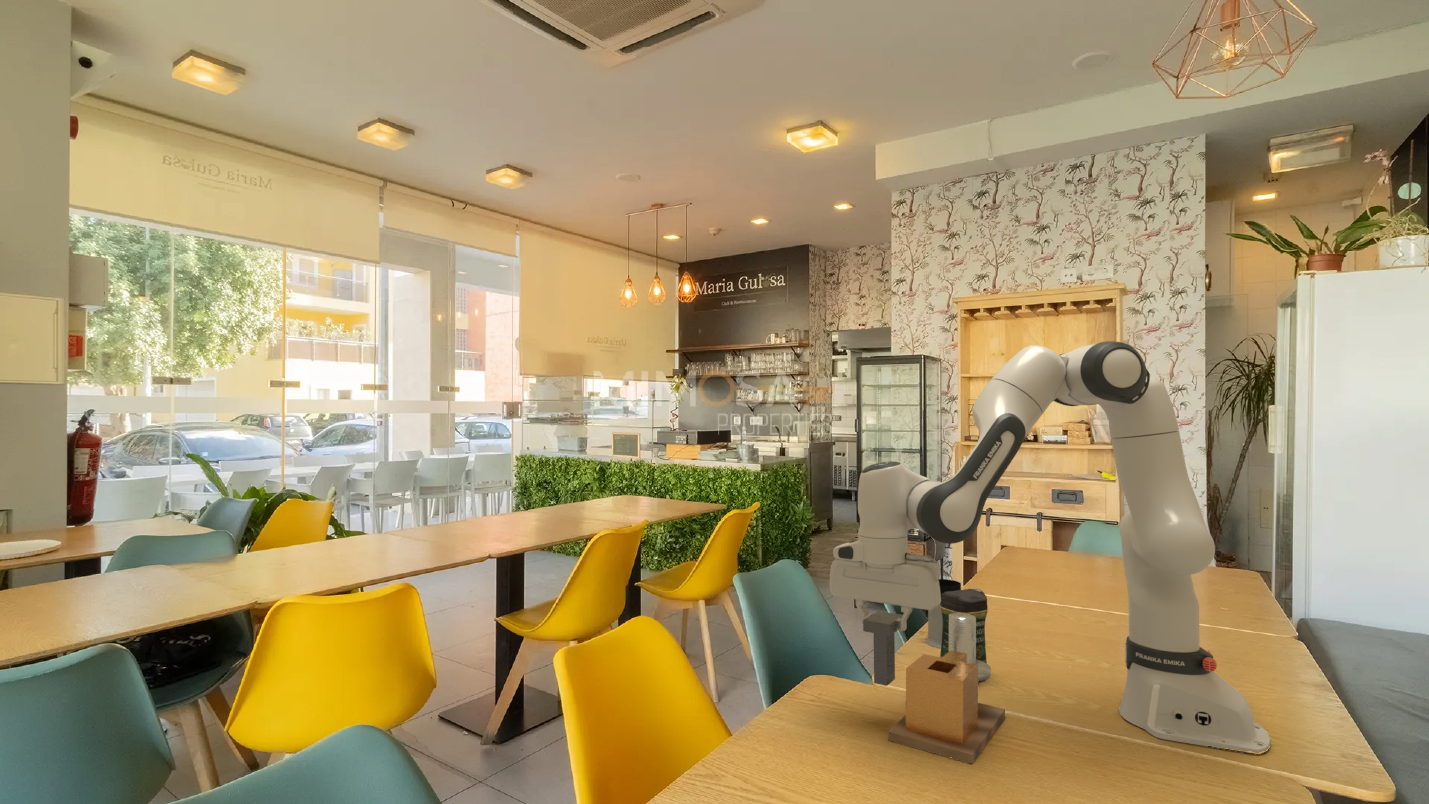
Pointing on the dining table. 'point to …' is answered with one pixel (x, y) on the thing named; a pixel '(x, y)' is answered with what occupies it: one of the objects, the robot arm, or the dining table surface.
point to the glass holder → (940, 614)
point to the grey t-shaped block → (883, 645)
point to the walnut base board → (968, 752)
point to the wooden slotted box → (947, 686)
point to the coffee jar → (968, 604)
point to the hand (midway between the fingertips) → (883, 627)
